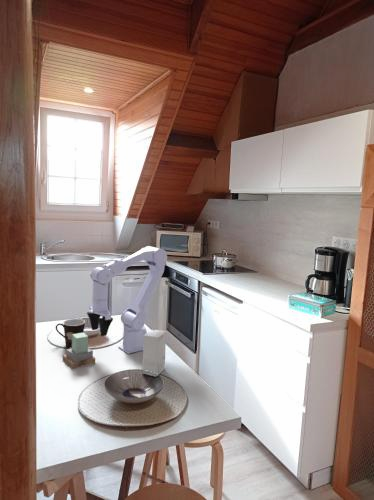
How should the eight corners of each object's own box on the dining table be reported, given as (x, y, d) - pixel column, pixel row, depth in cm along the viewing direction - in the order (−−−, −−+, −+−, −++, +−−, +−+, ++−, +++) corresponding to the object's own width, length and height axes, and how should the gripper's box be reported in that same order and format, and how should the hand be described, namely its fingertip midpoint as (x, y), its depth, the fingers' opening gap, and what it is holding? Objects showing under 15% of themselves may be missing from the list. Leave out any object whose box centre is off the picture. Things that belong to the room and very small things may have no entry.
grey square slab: (82, 351, 144) (82, 345, 144) (92, 357, 139) (92, 350, 139) (66, 355, 139) (66, 349, 138) (76, 362, 134) (76, 355, 134)
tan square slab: (85, 355, 146) (85, 349, 145) (95, 364, 139) (95, 358, 138) (62, 361, 140) (62, 354, 140) (72, 370, 133) (72, 363, 133)
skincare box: (156, 378, 129) (158, 338, 128) (140, 375, 131) (142, 335, 129) (165, 368, 137) (167, 330, 135) (150, 365, 139) (152, 327, 137)
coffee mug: (88, 344, 155) (89, 322, 154) (72, 351, 148) (73, 327, 146) (70, 338, 161) (70, 316, 160) (53, 343, 154) (54, 320, 152)
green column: (83, 347, 141) (83, 332, 141) (87, 351, 138) (88, 336, 137) (71, 349, 139) (72, 334, 138) (76, 353, 135) (76, 338, 134)
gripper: (82, 295, 144) (81, 328, 146) (99, 304, 133) (98, 340, 135) (99, 293, 148) (98, 325, 150) (116, 302, 137) (115, 336, 139)
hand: (99, 332), depth 143 cm, fingers open, 7 cm apart
